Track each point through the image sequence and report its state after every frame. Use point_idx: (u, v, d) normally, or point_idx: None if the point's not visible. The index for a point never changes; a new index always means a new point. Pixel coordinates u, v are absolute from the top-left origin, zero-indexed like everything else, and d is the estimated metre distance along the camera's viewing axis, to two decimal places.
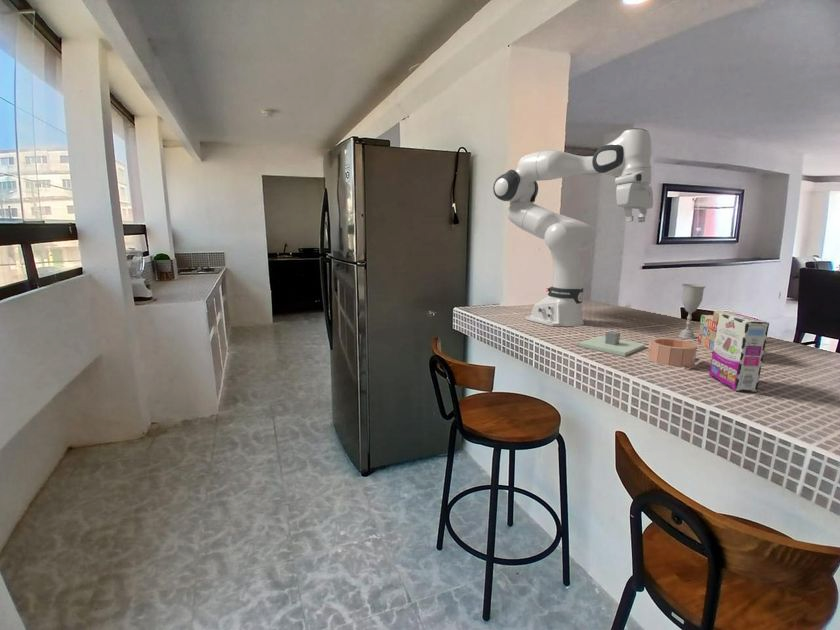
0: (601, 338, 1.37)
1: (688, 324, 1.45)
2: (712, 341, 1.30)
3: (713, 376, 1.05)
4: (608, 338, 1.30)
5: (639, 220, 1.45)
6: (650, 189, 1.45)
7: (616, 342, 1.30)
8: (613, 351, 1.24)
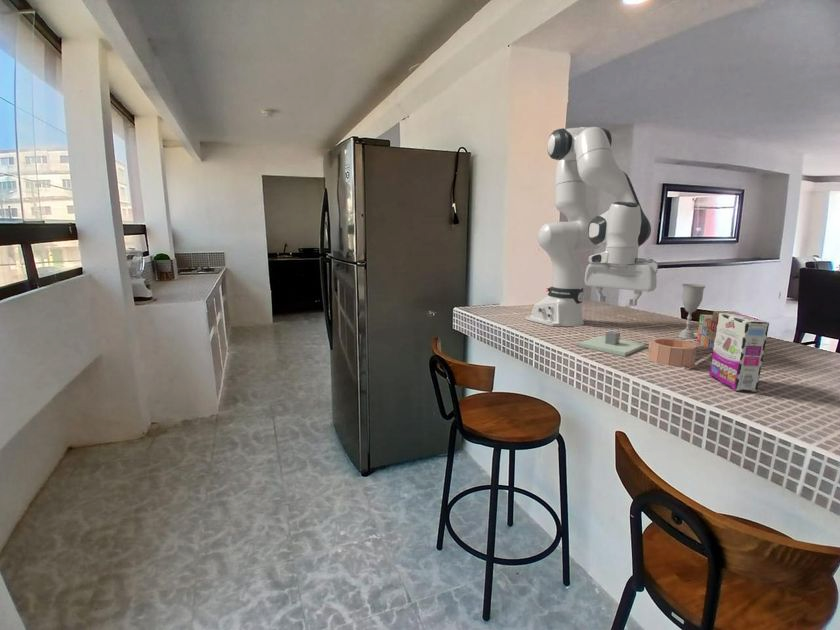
0: (601, 338, 1.37)
1: (688, 324, 1.45)
2: (712, 341, 1.30)
3: (713, 376, 1.05)
4: (608, 338, 1.30)
5: None
6: (644, 269, 1.19)
7: (616, 342, 1.30)
8: (613, 351, 1.24)
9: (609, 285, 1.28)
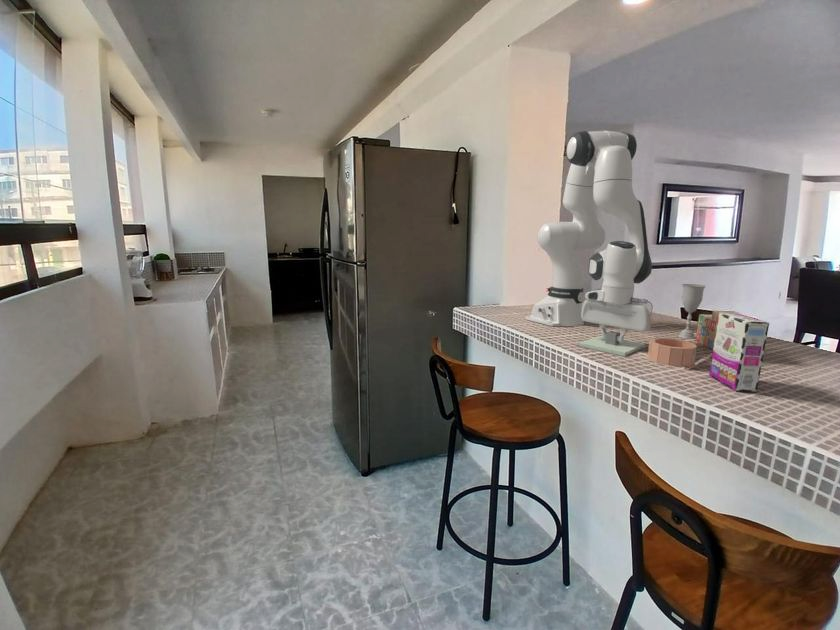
0: (601, 338, 1.37)
1: (688, 324, 1.45)
2: (711, 340, 1.31)
3: (713, 376, 1.05)
4: (608, 338, 1.30)
5: None
6: (639, 310, 1.22)
7: (616, 342, 1.30)
8: (613, 351, 1.24)
9: (605, 322, 1.30)
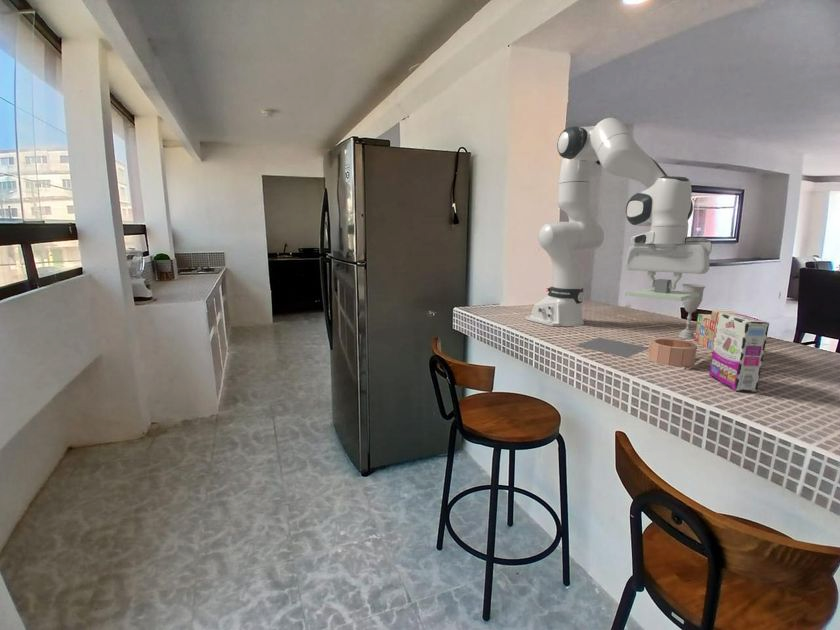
0: (648, 289, 1.23)
1: (688, 324, 1.45)
2: (710, 340, 1.31)
3: (713, 376, 1.05)
4: (658, 286, 1.17)
5: None
6: (696, 249, 1.08)
7: (667, 290, 1.16)
8: (666, 297, 1.10)
9: (654, 268, 1.17)
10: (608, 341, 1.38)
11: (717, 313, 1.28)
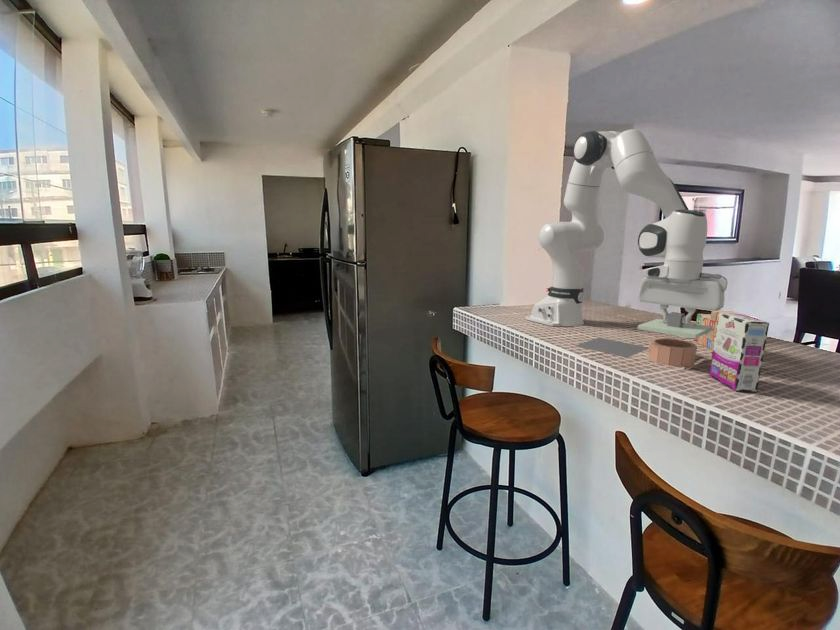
0: (660, 321, 1.22)
1: None
2: (710, 340, 1.31)
3: (713, 376, 1.05)
4: (671, 320, 1.15)
5: None
6: (711, 286, 1.07)
7: (681, 324, 1.15)
8: (680, 333, 1.09)
9: (668, 302, 1.15)
10: (608, 341, 1.38)
11: (717, 313, 1.28)
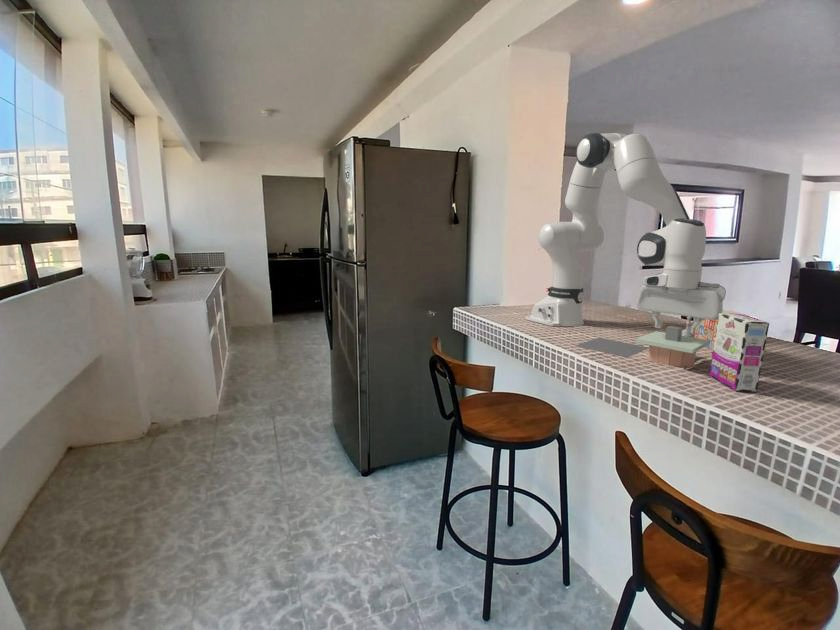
0: (658, 334, 1.23)
1: (688, 324, 1.45)
2: (710, 340, 1.32)
3: (713, 376, 1.05)
4: (669, 334, 1.16)
5: None
6: (710, 295, 1.08)
7: (678, 338, 1.15)
8: (678, 348, 1.10)
9: (666, 310, 1.16)
10: (608, 341, 1.38)
11: None
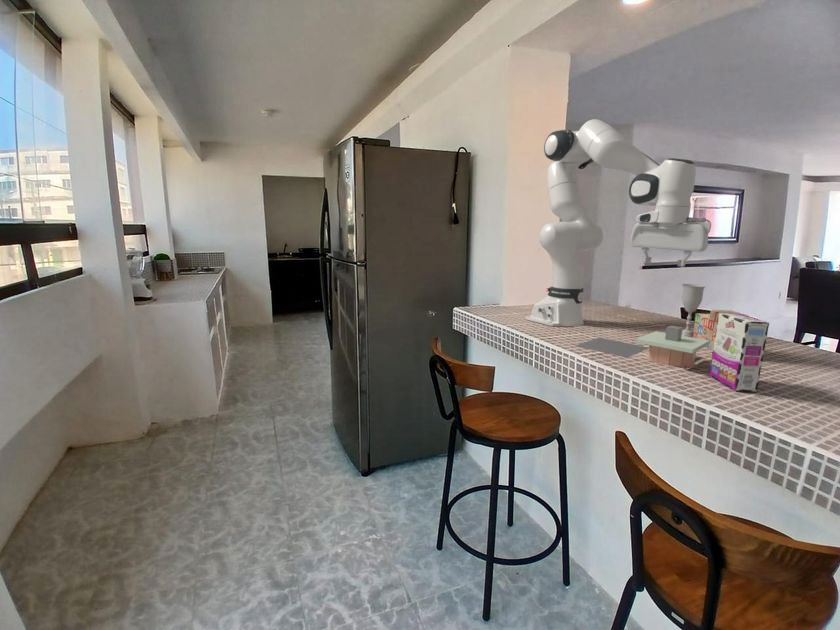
0: (658, 334, 1.23)
1: (688, 324, 1.45)
2: (709, 339, 1.32)
3: (713, 376, 1.05)
4: (669, 334, 1.16)
5: None
6: (696, 229, 1.17)
7: (678, 338, 1.15)
8: (678, 348, 1.10)
9: (657, 245, 1.25)
10: (608, 341, 1.38)
11: (716, 312, 1.29)
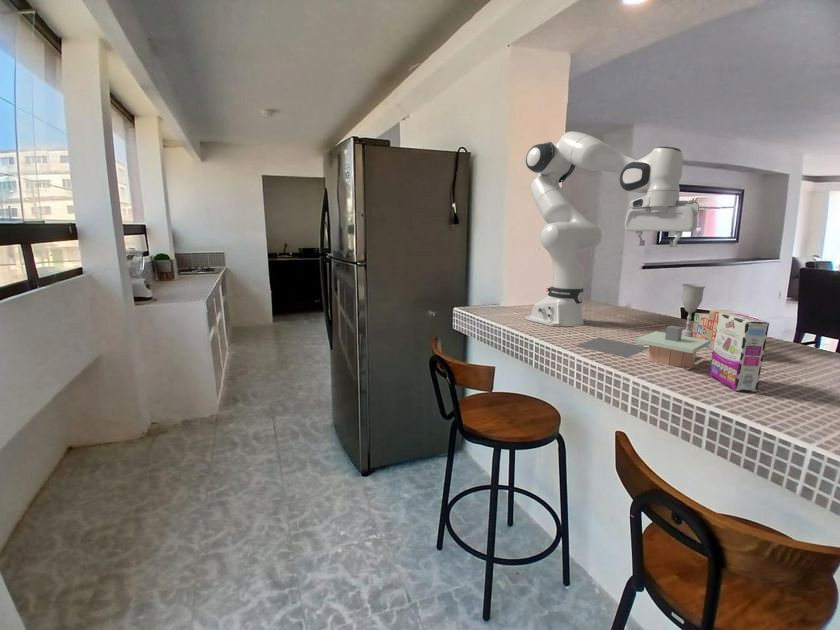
0: (658, 334, 1.23)
1: (688, 324, 1.45)
2: (709, 339, 1.32)
3: (713, 376, 1.05)
4: (669, 334, 1.16)
5: None
6: (686, 210, 1.26)
7: (678, 338, 1.15)
8: (678, 348, 1.10)
9: (650, 228, 1.34)
10: (608, 341, 1.38)
11: (715, 312, 1.29)
